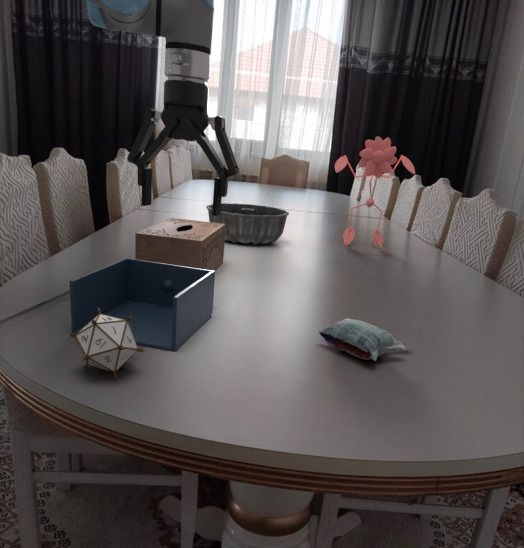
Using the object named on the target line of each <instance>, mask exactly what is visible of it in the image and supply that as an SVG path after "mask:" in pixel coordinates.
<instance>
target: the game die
mask: <svg viewBox="0 0 524 548" xmlns="http://www.w3.org/2000/svg"><path fill="white" fill-rule="evenodd" d="M97 311H98V315H97V316H96V317H95V318H94V319H92V320H91V321H90V322H89V323H88V324H87V325H86V326H85V327H83V328H82V329H81V330H80V331H79V332H78V333H77V334H74V333H72V332H70V333H68V335H69V337H72V338H74V337H75V340H76V342H77V345H78V347H79V349H80V352H81V355H82V361H83V362H85V364H84V365H83V370H87V369H88V368H89V366H90V367H93V368H96V369H99V370H104V371H107V372H110V373H112V374H113V375H112V376H113V377H114V378H115V379H117V378H118V373H117V371H119V369H121V368H122V367H123V366H124V365H125V364H126V363H127V362H128V361H129V360H130V359H131V358H132V357H133V356H134V355H135V354H137V353H138V352H139V353H143V352H145V350H144V349H143V348H140V347H139V345H137V344H136V341H135V338H134V336H133V333H132V330H131V328H130V325H129V323H128V321H130V319H131V316H132V315H131V316H128V317H127V319H126V320H125V319H121V318H117V317H113V316H108V315H104V314H101V312H102V311H101V310H100V309H99V308H98V310H97Z"/></svg>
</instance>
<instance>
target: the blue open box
mask: <svg viewBox="0 0 524 548" xmlns="http://www.w3.org/2000/svg"><path fill="white" fill-rule="evenodd" d="M215 276H216V271H212V270H205V269H198V268H192V267H185V266H178V265H171V264H164V263H158V262H151V261H144V260H137V259H135V258H130V257H124V258H122V259H119V260H117V261H115V262H114V261H113V262H112V263H109V264H107V265H105V266H102V267H99V268H97V269H95V270H92V271H90V272H88V273H85V274H83V275H80V276H78V277H75V278H73V279H71V280H69V298H70V299H69V301H70V321H71V322H70V323H71V333H74V334H77V333H78V332H79V331H80V330H81V329H82V328H83V327H85V326H86V325H87V324H88V323H89V322H90V321H91V320H92V319H94V318H95V317H96V316H97V315H98V311H97V310H98V308H99V309H100V310H101V311H102V312H101V314H104V315H108V316H113V317H117V318H121V319H125V320H126V319H127V317H128V316H131V315H132V316H131V319H130V321H128V323H129V325H130V328H131V330H132V333H133V336H134V338H135V341H136V344H137V346H142V347H148V348H153V349H159V350H164V351H170V352H176V351H178V349H179V348H181V347H182V346H183V345H184V344H185V343H186V342H187V341H188V340H189V339H190V338H191V337H192V336H194V334H196V333H197V331H199V329H201V328H202V327H203V326H204V325H205V324H206V323H207V322H208V321H209V320H210V319H211V318H212V315H213V312H214V311H213V310H214V297H215V295H214V294H215V281H216V280H215V279H216V278H215Z"/></svg>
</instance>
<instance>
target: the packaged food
mask: <svg viewBox="0 0 524 548" xmlns="http://www.w3.org/2000/svg"><path fill="white" fill-rule="evenodd" d="M318 333H319V335H320V336H321V337H322V338H323V339H324V341H325V342H326V343H327V344H328V345H329V346H332V347H334V348H335V349H338V350H341V351H343V352H345V353H347V354H348V355H349V354H350V355H351V356H354V357H356V358H358V359H361V360H365V361H368V360H372V361H374V362H377V360H378V357H382V356H384V355H387V354H390V353H395V352H399V351H404V352H406V351H407V347H406V346H405V345H404V344H403V343H402V342H401V341H400V340H398V339H395V337H394V336H393V334H392V333H390V332H388V331H386V330H384V329H383V328H381V327H379V326H377V325H375V324H374V325H373V324H370V323H369V322H366V321H364V320H359V319H353V318H352V319H351V318H350V317H347V318H345V319H342V320H340V321H338V322H335V323H332V324H331V325H330V326H328V327H325V328H323V329H321V330H319V331H318Z"/></svg>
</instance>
